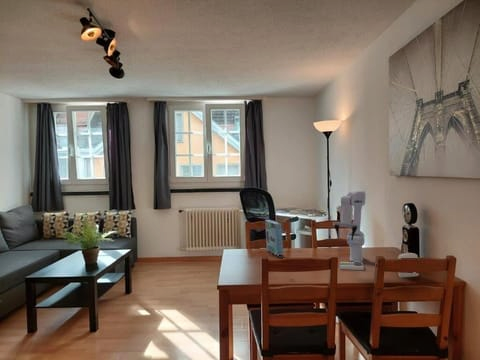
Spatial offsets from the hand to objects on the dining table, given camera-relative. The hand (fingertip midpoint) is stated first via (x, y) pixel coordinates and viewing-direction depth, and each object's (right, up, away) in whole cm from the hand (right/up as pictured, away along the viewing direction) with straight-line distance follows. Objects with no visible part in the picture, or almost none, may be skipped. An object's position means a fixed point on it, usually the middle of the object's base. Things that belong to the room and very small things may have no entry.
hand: (344, 239), depth 192 cm
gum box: (-35, -19, +48) cm, 62 cm away
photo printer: (+30, -17, -14) cm, 37 cm away
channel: (+6, -18, +6) cm, 20 cm away
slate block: (+9, -18, +5) cm, 21 cm away
